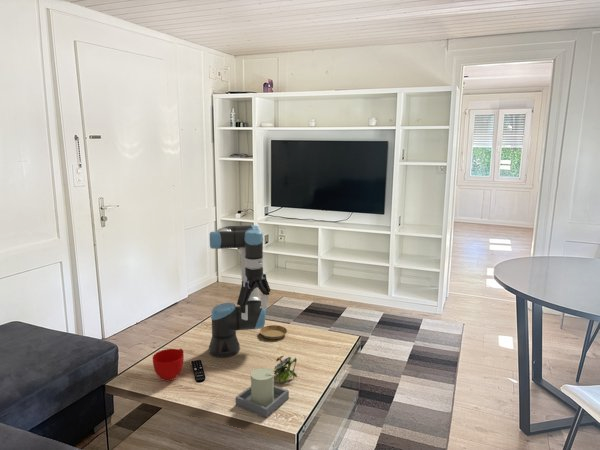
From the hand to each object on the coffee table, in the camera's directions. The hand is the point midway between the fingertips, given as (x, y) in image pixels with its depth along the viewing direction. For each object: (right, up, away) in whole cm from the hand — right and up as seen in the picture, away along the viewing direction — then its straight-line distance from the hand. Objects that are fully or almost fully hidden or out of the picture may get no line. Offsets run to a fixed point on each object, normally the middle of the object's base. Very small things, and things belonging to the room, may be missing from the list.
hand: (254, 313), depth 187 cm
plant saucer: (+5, -21, +46) cm, 51 cm away
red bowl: (-37, -28, +5) cm, 47 cm away
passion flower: (+14, -29, +3) cm, 32 cm away
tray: (+5, -32, -15) cm, 36 cm away
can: (+5, -32, -15) cm, 35 cm away
